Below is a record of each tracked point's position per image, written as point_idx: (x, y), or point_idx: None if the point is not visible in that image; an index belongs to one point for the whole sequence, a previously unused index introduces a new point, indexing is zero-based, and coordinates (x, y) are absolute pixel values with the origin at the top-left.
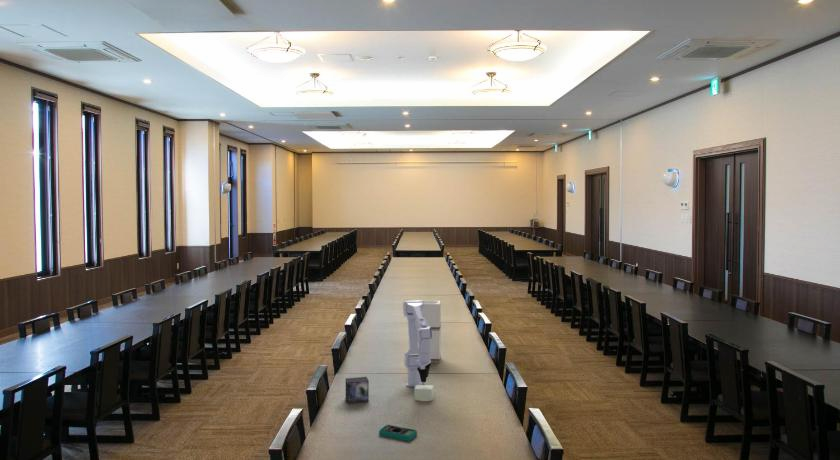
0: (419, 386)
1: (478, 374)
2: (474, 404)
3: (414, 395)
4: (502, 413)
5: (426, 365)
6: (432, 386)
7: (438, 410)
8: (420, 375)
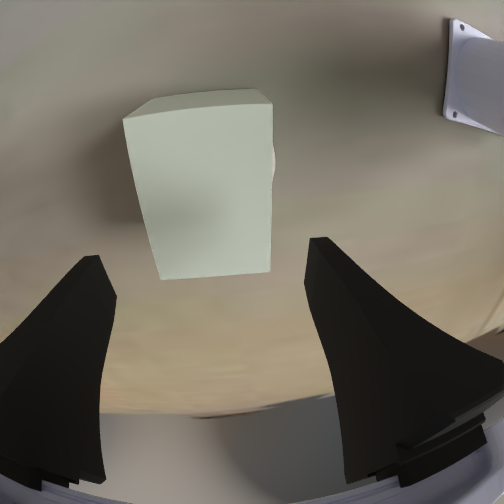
0: (217, 153)
1: (484, 316)
2: (191, 371)
3: (143, 104)
4: (149, 407)
5: (363, 430)
6: (245, 270)
7: (57, 279)
8: (25, 329)
